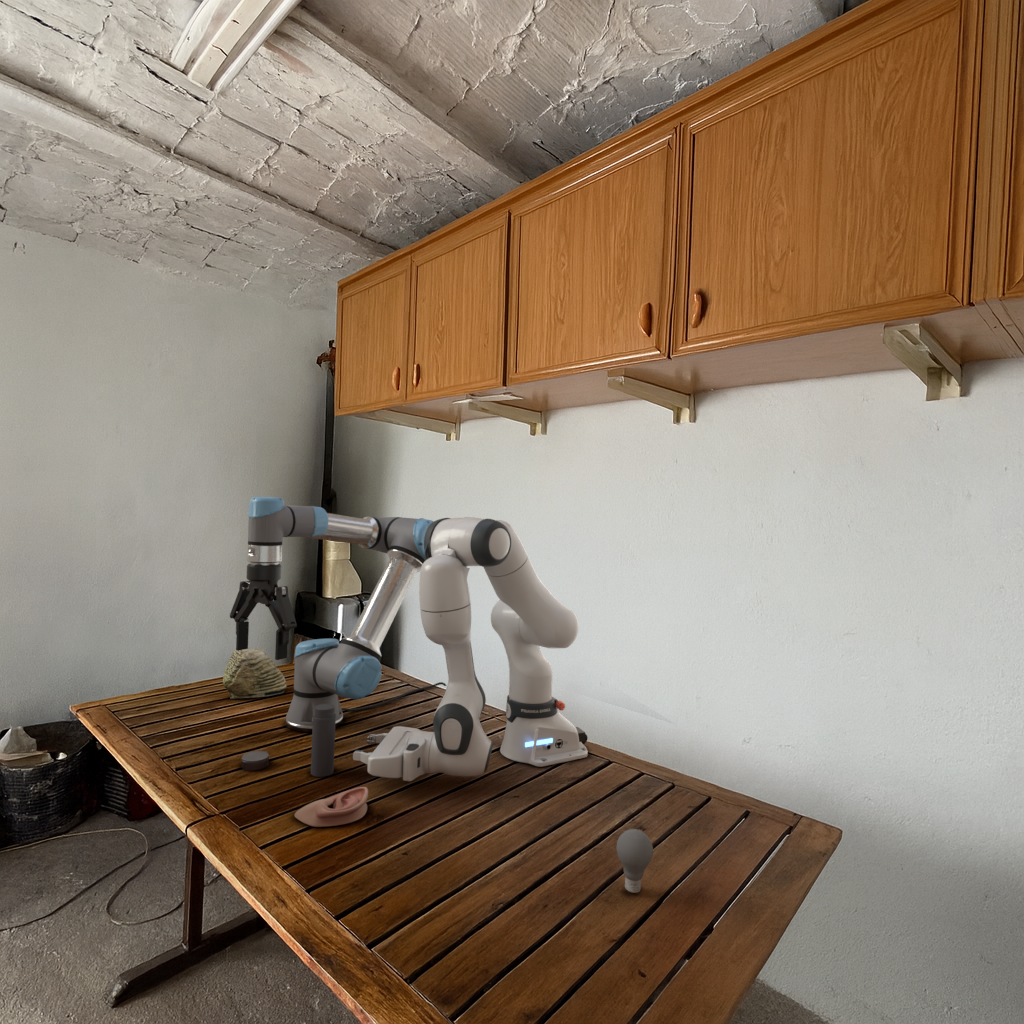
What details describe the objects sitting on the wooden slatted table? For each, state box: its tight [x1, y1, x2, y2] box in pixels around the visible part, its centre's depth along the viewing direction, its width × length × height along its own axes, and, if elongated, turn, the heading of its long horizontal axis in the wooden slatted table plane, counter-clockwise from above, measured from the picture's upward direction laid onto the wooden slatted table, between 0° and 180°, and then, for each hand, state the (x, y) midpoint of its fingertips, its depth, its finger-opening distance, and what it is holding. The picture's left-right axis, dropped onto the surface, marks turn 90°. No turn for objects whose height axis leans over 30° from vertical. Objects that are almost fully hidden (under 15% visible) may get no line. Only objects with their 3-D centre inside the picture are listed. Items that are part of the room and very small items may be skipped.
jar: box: [310, 704, 336, 778], centre depth 145 cm, size 5×5×15 cm
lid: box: [240, 750, 270, 772], centre depth 148 cm, size 6×6×2 cm
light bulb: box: [615, 828, 654, 894], centre depth 106 cm, size 6×6×10 cm
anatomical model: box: [294, 786, 369, 828], centre depth 127 cm, size 13×4×12 cm
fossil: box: [222, 647, 288, 699], centre depth 198 cm, size 9×18×15 cm, turn 132°
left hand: (261, 654), depth 147 cm, fingers open, 13 cm apart
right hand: (361, 746), depth 145 cm, fingers open, 8 cm apart
